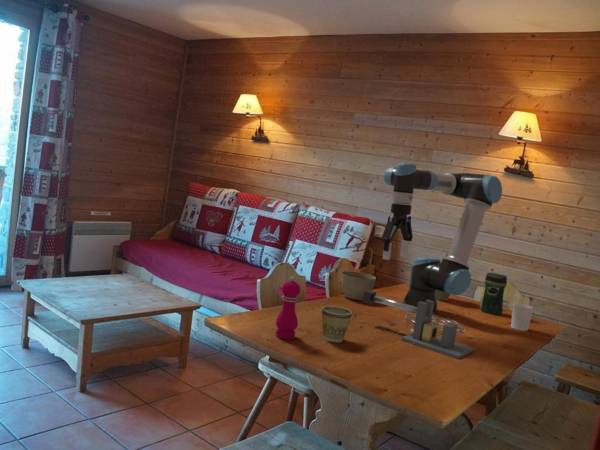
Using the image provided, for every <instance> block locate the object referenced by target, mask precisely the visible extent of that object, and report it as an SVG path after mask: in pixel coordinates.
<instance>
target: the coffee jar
mask: <svg viewBox="0 0 600 450" xmlns="http://www.w3.org/2000/svg"><path fill="white" fill-rule="evenodd" d="M484 285H485V286H484V293H483V296H482V300H481V304H480V311H481V312H483V313H486V314H491V315H495V316H497V315H502V314H503V310H504V307H503V306H504V294H505V288H506V286H507V285H508V276H507V275H503V274H501V273H500V274H499V273H495V272H487V273H486V275H485V278H484Z"/></svg>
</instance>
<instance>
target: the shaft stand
mask: <svg viewBox="0 0 600 450" xmlns="http://www.w3.org/2000/svg"><path fill="white" fill-rule="evenodd" d="M433 307H434V301H431V300H425V302H418V306H417V312H416V314H415V320H414V325H413V326H414V327H413V332H412V333H410V334H407V335H404V336H402V337H401V339H400V340H401V341H403V342H406V343H408V344H412V345H415V346H419V347H422V348H423V349H427V350H429V351H430V350H431V351H433V352H437V353H440V354H443V355H446V356H448V357H451V358H454V359H461V358H463V357H465V356H468V355H469V354H470V353H473V352H475V348H474V347H472V346H468V345H466V344H462V343H460V342H456V338H457V337H456V336H457V332H458V331H457V329H458V323H457V324H456V323H453V322H449V323H446V324H443V328H442V333H441V337H440V336H437V340H435V341H432V342H430V343H429V342H426V341H423V340H421V339H422V333H423V326H424V323H427V322H430V321H432V319H433V314H434V312H433Z"/></svg>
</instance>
